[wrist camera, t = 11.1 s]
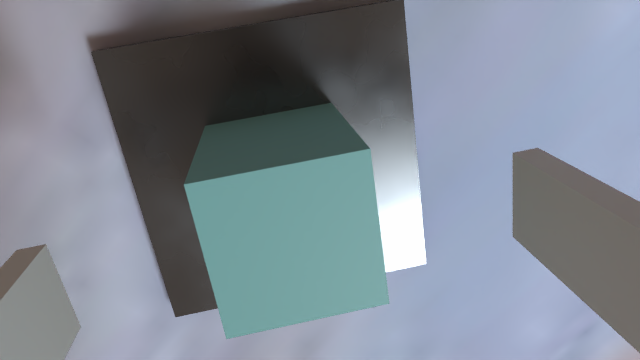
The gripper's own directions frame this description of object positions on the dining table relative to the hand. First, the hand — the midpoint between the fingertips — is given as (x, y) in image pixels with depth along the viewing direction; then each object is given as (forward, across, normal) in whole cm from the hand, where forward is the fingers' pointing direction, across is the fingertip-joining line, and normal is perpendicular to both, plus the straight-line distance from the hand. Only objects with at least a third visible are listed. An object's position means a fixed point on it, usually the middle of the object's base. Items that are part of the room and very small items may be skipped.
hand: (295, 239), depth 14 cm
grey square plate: (+8, 0, -1) cm, 8 cm away
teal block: (+7, 0, -1) cm, 7 cm away
